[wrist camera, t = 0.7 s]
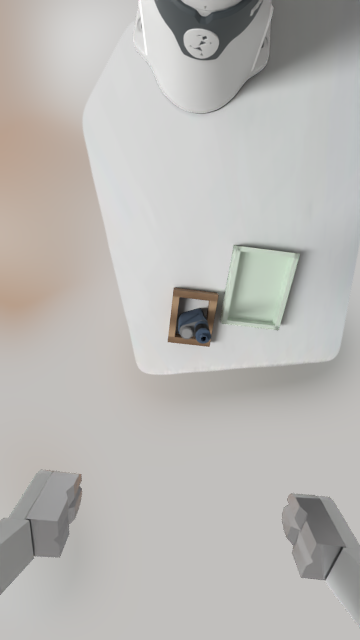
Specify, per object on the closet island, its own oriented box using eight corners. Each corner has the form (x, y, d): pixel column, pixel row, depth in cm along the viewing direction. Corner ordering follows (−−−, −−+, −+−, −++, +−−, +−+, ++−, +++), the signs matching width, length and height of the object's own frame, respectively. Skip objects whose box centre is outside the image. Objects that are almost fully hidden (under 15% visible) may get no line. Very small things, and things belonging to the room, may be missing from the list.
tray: (233, 245, 41) (236, 245, 39) (293, 252, 41) (300, 253, 39) (219, 319, 46) (222, 323, 43) (273, 325, 46) (278, 330, 44)
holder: (174, 287, 44) (173, 289, 42) (216, 292, 44) (218, 295, 42) (168, 337, 47) (167, 341, 45) (208, 342, 47) (209, 346, 45)
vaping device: (206, 318, 46) (214, 344, 34) (181, 325, 46) (180, 353, 35) (202, 306, 45) (209, 328, 33) (177, 313, 45) (175, 338, 34)
